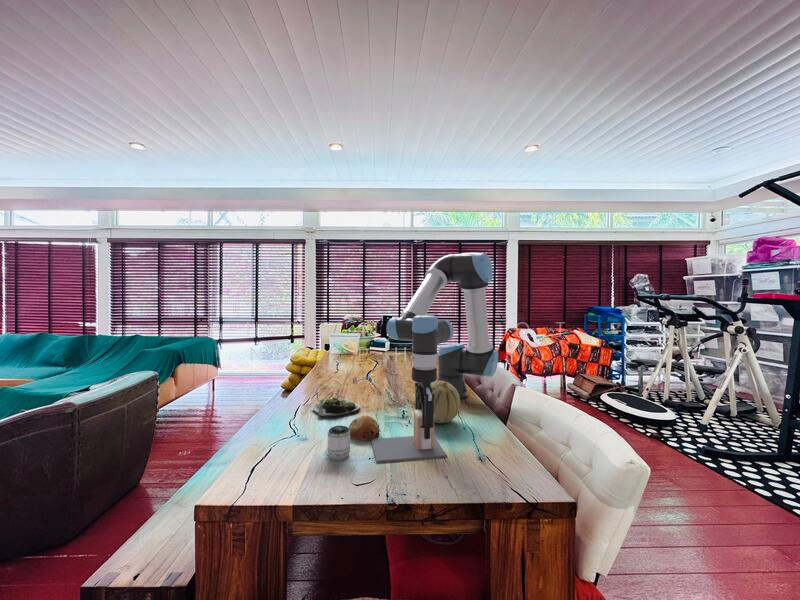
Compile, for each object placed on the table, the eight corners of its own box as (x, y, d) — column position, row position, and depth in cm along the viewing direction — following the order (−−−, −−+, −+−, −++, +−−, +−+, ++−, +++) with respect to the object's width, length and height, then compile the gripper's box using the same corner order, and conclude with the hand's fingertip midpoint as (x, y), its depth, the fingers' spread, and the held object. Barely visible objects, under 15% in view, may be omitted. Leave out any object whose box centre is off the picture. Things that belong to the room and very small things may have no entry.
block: (429, 441, 105) (429, 409, 105) (433, 448, 100) (434, 414, 100) (413, 442, 104) (413, 409, 104) (417, 449, 99) (417, 415, 99)
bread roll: (370, 438, 116) (364, 415, 118) (388, 434, 109) (381, 409, 112) (346, 447, 109) (340, 422, 111) (364, 443, 102) (358, 416, 105)
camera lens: (336, 448, 100) (336, 422, 100) (354, 453, 98) (354, 426, 97) (322, 458, 95) (323, 430, 94) (341, 463, 92) (341, 434, 92)
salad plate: (302, 408, 136) (302, 396, 136) (341, 399, 147) (341, 389, 147) (323, 422, 121) (323, 409, 121) (365, 412, 132) (365, 400, 132)
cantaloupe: (432, 411, 133) (432, 373, 132) (466, 420, 124) (467, 379, 124) (411, 423, 121) (411, 381, 120) (448, 433, 112) (448, 388, 112)
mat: (432, 436, 110) (432, 434, 110) (446, 457, 96) (446, 455, 96) (371, 440, 106) (371, 439, 106) (376, 462, 92) (376, 460, 92)
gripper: (405, 361, 109) (405, 432, 110) (419, 374, 92) (418, 459, 92) (428, 360, 111) (427, 431, 111) (446, 373, 93) (444, 457, 94)
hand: (423, 444), depth 102 cm, fingers closed on block, 5 cm apart
